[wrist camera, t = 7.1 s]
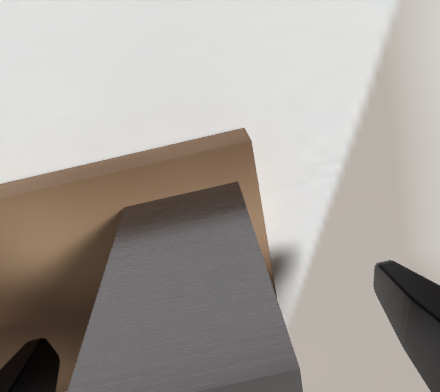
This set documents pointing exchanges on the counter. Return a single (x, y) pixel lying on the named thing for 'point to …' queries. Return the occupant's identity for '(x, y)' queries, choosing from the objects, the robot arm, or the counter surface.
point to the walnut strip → (86, 233)
